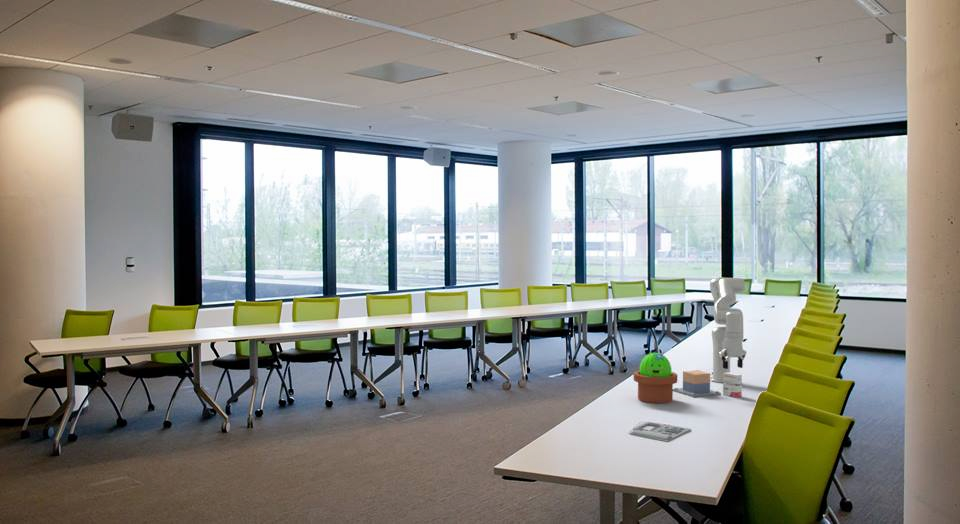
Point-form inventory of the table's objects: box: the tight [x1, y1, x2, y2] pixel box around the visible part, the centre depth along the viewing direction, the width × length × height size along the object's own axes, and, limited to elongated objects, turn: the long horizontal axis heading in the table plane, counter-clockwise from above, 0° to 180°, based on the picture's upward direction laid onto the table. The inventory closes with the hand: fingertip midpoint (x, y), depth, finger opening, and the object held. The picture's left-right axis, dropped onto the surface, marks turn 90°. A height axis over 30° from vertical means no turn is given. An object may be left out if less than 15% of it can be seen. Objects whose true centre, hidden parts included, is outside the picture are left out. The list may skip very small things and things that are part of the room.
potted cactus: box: [633, 351, 678, 404], centre depth 377 cm, size 22×22×25 cm
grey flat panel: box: [629, 421, 692, 443], centre depth 314 cm, size 23×3×20 cm
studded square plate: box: [673, 369, 722, 398], centre depth 394 cm, size 18×18×11 cm
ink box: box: [722, 372, 743, 398], centre depth 387 cm, size 8×5×12 cm, turn 39°
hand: (732, 367), depth 386 cm, fingers open, 9 cm apart
